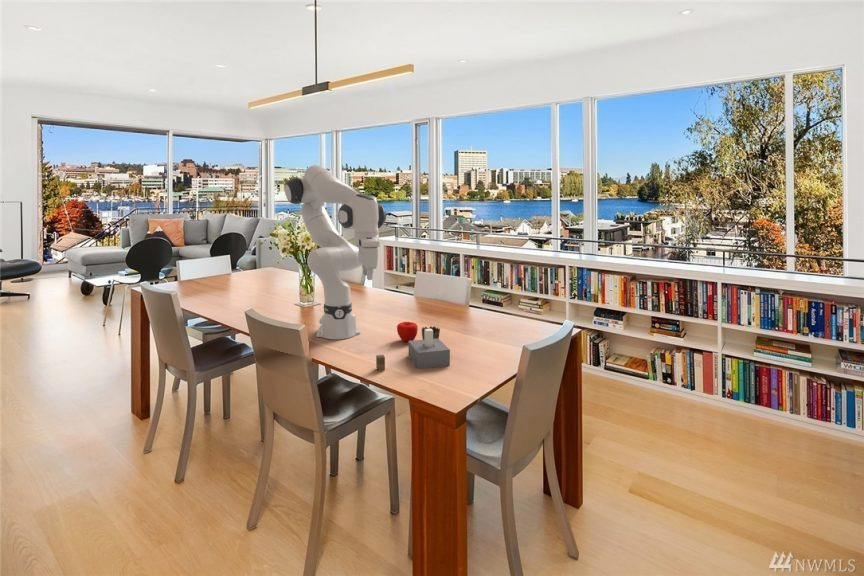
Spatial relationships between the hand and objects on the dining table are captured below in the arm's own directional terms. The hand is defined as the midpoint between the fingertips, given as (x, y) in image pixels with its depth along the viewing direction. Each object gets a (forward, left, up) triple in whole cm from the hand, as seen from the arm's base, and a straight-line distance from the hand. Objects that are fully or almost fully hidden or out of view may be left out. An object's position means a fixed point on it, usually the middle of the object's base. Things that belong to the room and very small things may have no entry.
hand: (367, 277), depth 174 cm
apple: (-16, +19, -31) cm, 40 cm away
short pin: (+13, +2, -31) cm, 34 cm away
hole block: (+9, +21, -31) cm, 39 cm away
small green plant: (-5, +26, -31) cm, 41 cm away
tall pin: (+9, +21, -31) cm, 39 cm away
